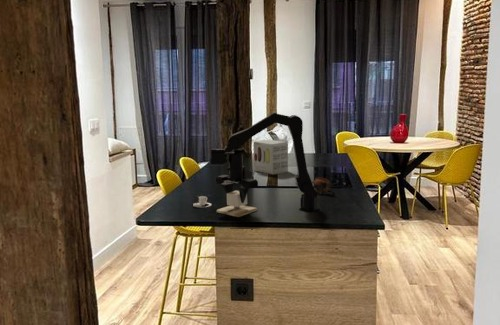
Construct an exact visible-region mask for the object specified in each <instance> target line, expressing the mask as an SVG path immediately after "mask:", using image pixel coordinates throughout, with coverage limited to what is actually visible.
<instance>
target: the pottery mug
mask: <svg viewBox="0 0 500 325" xmlns="http://www.w3.org/2000/svg"><path fill="white" fill-rule="evenodd" d="M312 184H313V187H314V188H315V189H316V190H317V192H318V195H322V194H323V192H324V193H328V192H329V191H330V190H331V182H330V180H329V179H327V178H324V177H318V176H317V177H315V178H314V179H313V181H312Z"/></svg>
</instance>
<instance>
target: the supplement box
mask: <svg viewBox="0 0 500 325" xmlns="http://www.w3.org/2000/svg"><path fill="white" fill-rule="evenodd" d="M253 171H255V172H260V173H264V174H269V175H279V174H282V173H288V172H289V142H288V141H284V140H283V141H282V140H276V139H275V140H274V139H262V140H254V141H253Z"/></svg>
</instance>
